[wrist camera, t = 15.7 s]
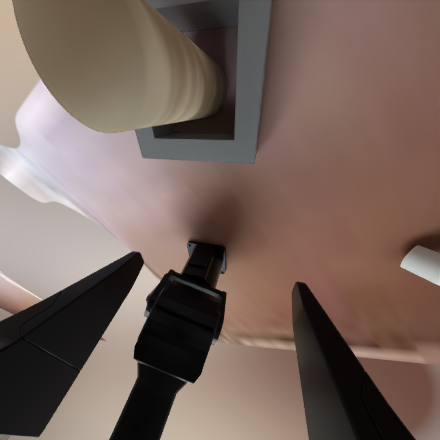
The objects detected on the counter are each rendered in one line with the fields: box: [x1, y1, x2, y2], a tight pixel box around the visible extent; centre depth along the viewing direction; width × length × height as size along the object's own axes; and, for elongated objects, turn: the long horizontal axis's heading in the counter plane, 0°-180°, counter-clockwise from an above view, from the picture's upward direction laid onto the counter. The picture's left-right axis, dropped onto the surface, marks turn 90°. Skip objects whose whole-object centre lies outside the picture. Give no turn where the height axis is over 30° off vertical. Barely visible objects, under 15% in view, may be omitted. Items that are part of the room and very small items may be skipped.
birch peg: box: [12, 0, 226, 133], centre depth 10 cm, size 4×4×12 cm
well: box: [135, 0, 273, 164], centre depth 14 cm, size 11×11×4 cm
